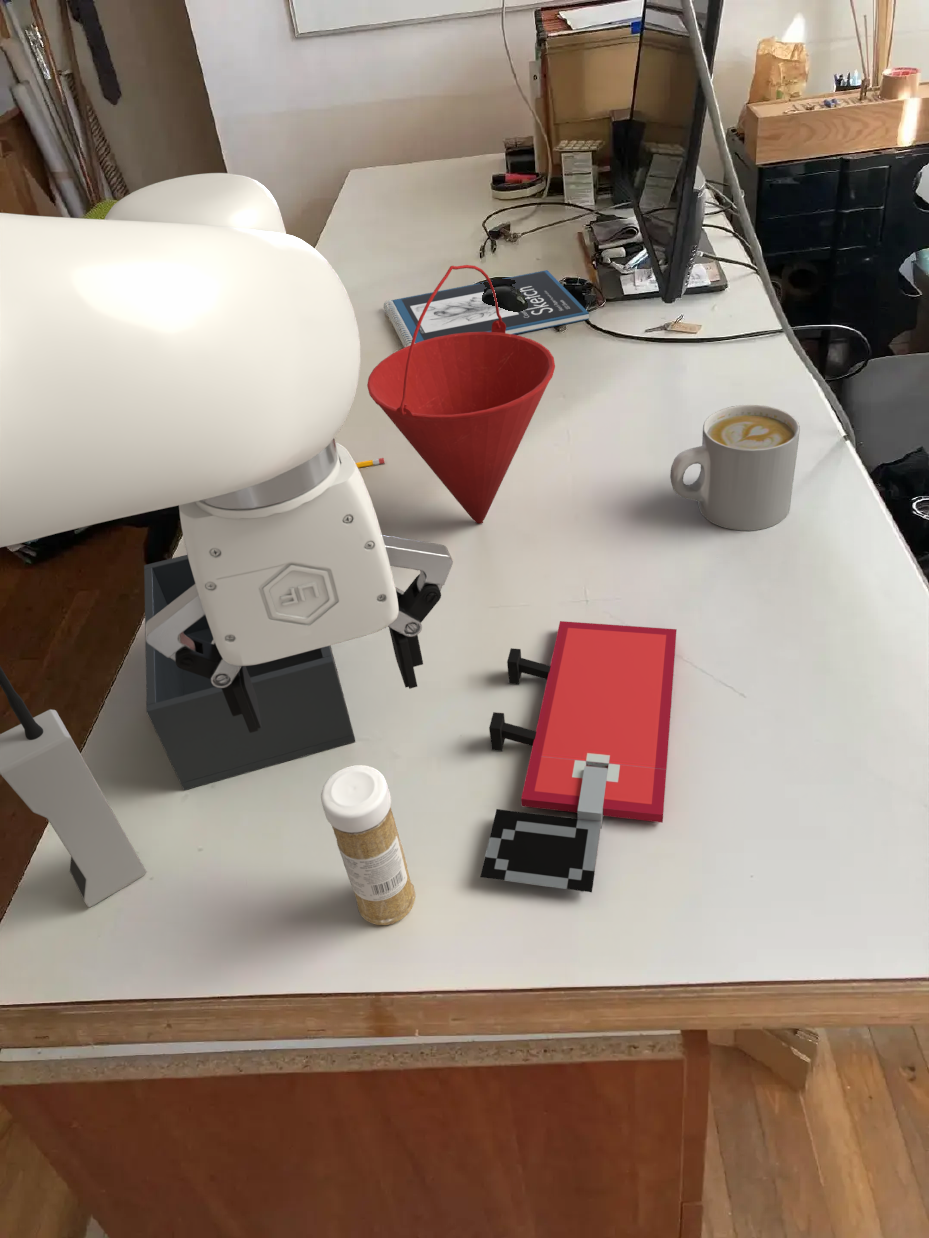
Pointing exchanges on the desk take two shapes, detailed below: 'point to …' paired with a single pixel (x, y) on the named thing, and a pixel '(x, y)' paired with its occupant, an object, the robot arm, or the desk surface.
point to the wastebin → (201, 719)
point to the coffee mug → (742, 467)
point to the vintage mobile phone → (67, 800)
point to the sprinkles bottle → (369, 843)
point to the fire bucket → (465, 402)
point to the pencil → (370, 463)
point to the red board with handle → (585, 750)
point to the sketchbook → (485, 310)
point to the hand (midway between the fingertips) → (331, 694)
